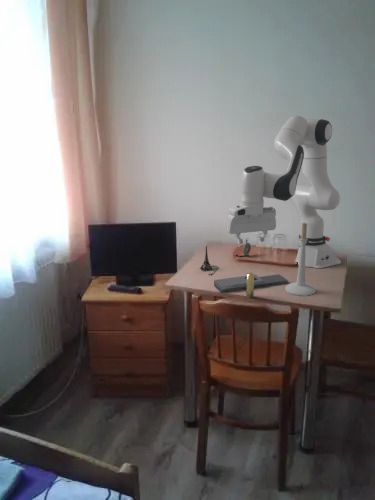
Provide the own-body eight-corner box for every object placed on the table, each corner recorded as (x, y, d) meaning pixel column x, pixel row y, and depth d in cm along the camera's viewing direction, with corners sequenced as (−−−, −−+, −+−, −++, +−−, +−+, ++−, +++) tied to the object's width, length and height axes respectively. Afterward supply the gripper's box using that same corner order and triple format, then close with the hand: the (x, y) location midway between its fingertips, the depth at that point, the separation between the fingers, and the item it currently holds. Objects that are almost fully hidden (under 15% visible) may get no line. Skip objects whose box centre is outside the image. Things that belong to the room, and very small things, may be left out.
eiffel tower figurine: (211, 277, 211) (211, 250, 207) (191, 274, 215) (191, 247, 211) (222, 266, 224) (222, 241, 220) (203, 264, 228) (202, 239, 224)
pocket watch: (234, 253, 243) (235, 235, 240) (250, 253, 242) (251, 235, 239) (234, 257, 235) (234, 239, 232) (250, 258, 234) (251, 240, 231)
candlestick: (284, 294, 188) (288, 225, 179) (285, 283, 200) (288, 218, 191) (316, 297, 185) (321, 226, 176) (315, 285, 197) (320, 219, 188)
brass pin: (251, 294, 188) (252, 272, 185) (254, 297, 186) (255, 274, 183) (245, 295, 188) (245, 273, 185) (248, 298, 185) (248, 275, 182)
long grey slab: (279, 277, 207) (279, 271, 206) (287, 283, 200) (287, 277, 199) (214, 285, 199) (214, 280, 198) (220, 292, 191) (220, 286, 190)
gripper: (272, 205, 181) (270, 237, 185) (225, 208, 176) (224, 242, 180) (279, 208, 175) (278, 241, 180) (231, 212, 170) (230, 246, 174)
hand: (251, 242), depth 180 cm, fingers open, 8 cm apart
